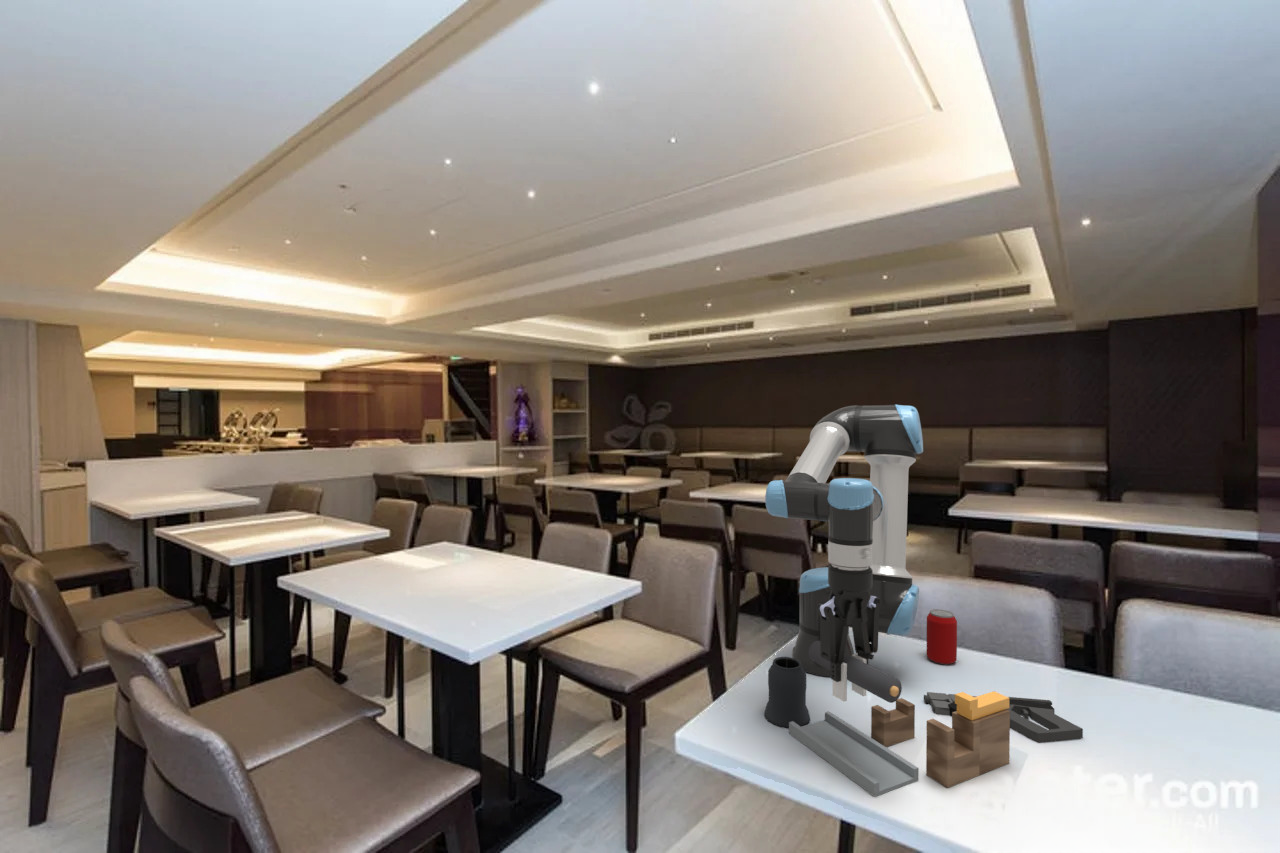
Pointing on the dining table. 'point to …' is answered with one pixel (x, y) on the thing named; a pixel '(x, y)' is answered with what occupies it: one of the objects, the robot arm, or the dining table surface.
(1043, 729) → the pistol
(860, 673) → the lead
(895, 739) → the rest
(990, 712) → the notched orange block
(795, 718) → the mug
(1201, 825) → the dining table surface
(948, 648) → the beverage can
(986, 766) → the notched wooden block
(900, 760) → the grey open channel
